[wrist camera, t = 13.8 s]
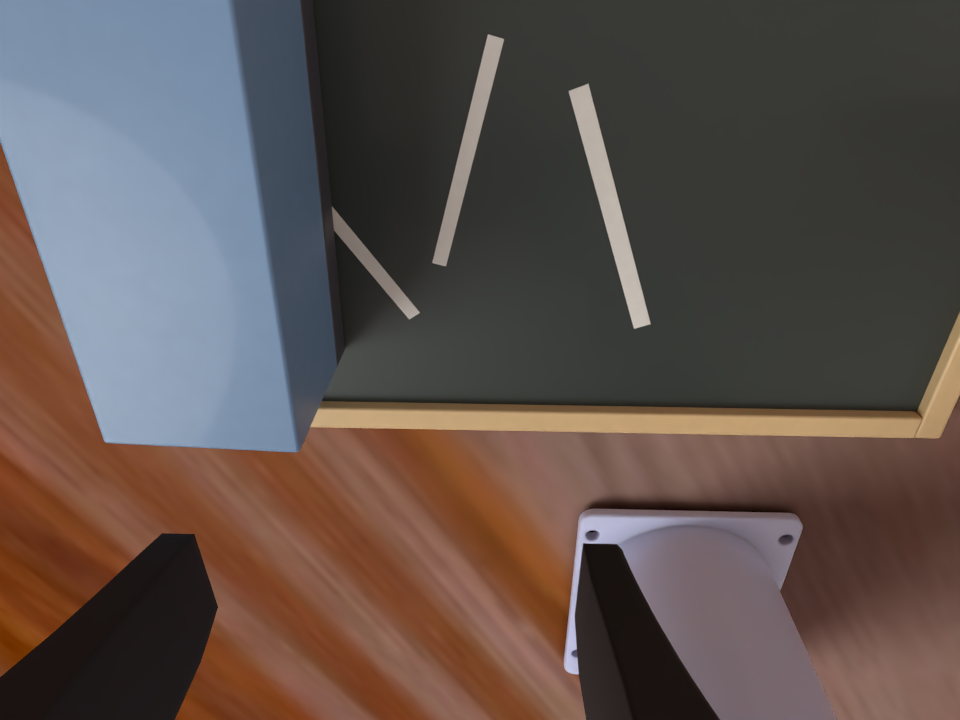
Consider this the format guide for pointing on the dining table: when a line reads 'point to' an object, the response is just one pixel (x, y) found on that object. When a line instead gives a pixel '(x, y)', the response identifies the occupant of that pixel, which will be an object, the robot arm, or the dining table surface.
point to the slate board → (645, 215)
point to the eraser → (180, 210)
